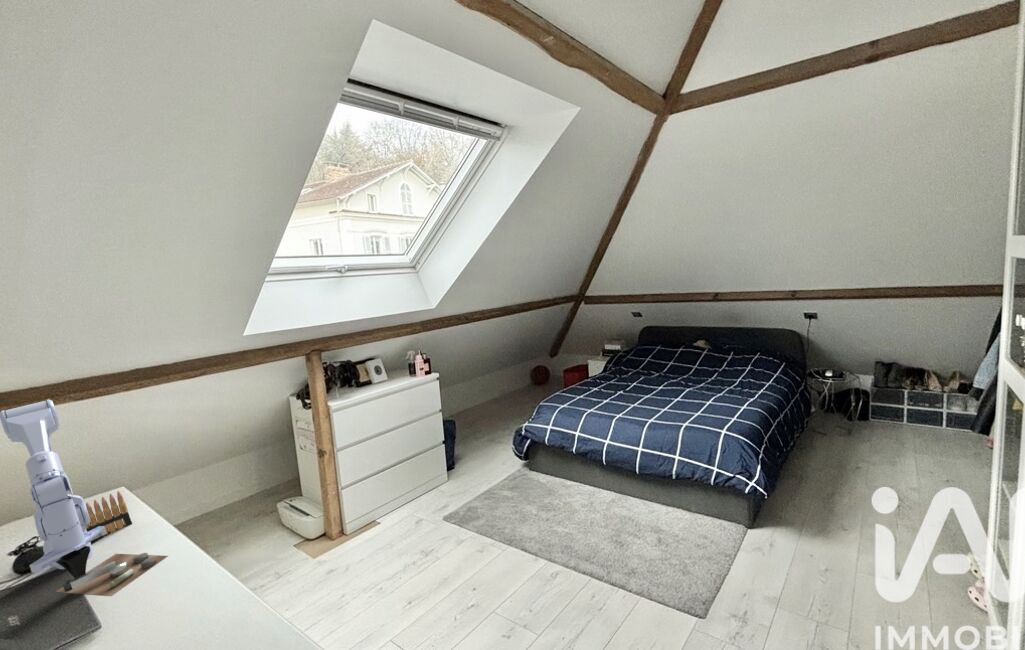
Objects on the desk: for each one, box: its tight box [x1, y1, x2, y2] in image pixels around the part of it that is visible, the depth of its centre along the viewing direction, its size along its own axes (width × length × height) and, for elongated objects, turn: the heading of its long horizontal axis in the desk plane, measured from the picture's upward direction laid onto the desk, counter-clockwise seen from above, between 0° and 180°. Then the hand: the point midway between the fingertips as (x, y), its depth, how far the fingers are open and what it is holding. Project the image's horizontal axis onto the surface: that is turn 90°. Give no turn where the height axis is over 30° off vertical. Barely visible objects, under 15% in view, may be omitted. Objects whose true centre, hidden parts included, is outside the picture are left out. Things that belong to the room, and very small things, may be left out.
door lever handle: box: [61, 561, 129, 592], centre depth 115 cm, size 12×4×3 cm, turn 138°
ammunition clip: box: [85, 490, 133, 546], centre depth 139 cm, size 11×2×12 cm, turn 137°
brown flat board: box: [55, 552, 169, 597], centre depth 119 cm, size 18×14×3 cm
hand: (80, 579), depth 114 cm, fingers closed
